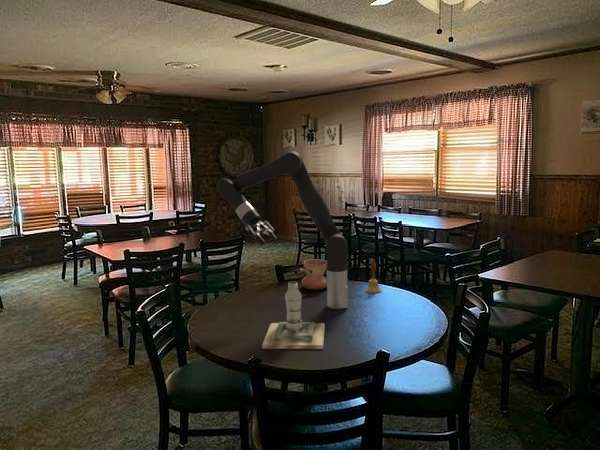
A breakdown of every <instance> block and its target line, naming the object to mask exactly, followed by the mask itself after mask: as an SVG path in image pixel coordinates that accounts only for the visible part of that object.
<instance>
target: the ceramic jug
mask: <svg viewBox="0 0 600 450" xmlns="http://www.w3.org/2000/svg"><path fill="white" fill-rule="evenodd" d="M299 270H300V272H305V273H306V276H305V277H303V278H302V279H301V286H302V287H303V288H304V289H307V290H311V291H320V290H323V289H327V276H324V275H325V272H326V271H327V259H325V260H324V259H320V258H319V259H317V258H313V259H306V260H304V261H303V267H301V268H299Z"/></svg>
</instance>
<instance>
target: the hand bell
mask: <svg viewBox="0 0 600 450" xmlns="http://www.w3.org/2000/svg"><path fill="white" fill-rule="evenodd" d="M376 269H377V263H376V260H375V259H372V260H371V262H370V270H371V278H370V279H369V280H368V285H367V288H366V289H364V290H365V292H366V293H367V294H368V293H369V294H379V293H381V292H383V290H382V289H381V287H380V286H379V281H378V280H377V279H376Z"/></svg>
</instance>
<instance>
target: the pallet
mask: <svg viewBox="0 0 600 450" xmlns="http://www.w3.org/2000/svg"><path fill="white" fill-rule="evenodd" d="M286 322H287V321H279V322H271V323H270V324H269V326H268V329H267V333H265V338H264V339H263V343H262V345H261V347H262V348H261V349H269V350H270V349H272V350H276V349H277V350H279V349H281V350H282V349H283V350H287V349H288V350H290V349H291V350H294V349H295V350H323V349H324V339H325V328H326V326H325V325H326V323H325V322H323V323H322V322H321V323H320V322H317V323H316V322H315V321H302V324H303V330H302V332H301V333H288V332H287V330H286Z"/></svg>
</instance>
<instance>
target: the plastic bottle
mask: <svg viewBox="0 0 600 450" xmlns="http://www.w3.org/2000/svg"><path fill="white" fill-rule="evenodd" d="M287 284H288V285H287V291H286V293H284V294H285V295H284V299H285V300H284V301H285V307H286V321H285V322H286V330H287V332H288V333H301V332H302V330H303V324H302V322H303V320H302V312H301V311H302V310H301V309H302V300H303V299H302V298H303V297H302V293H301V292H300V290H299V285H298V284H299V283H298V281H289V282H288V283H287Z"/></svg>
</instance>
